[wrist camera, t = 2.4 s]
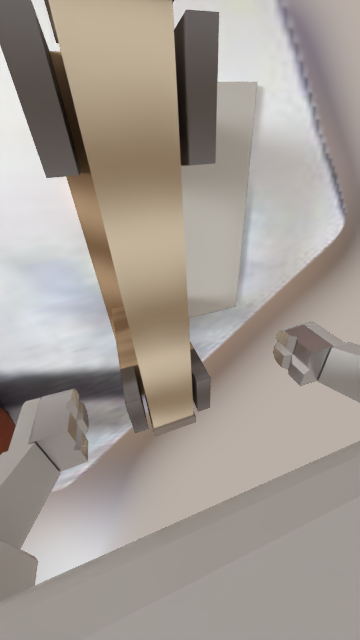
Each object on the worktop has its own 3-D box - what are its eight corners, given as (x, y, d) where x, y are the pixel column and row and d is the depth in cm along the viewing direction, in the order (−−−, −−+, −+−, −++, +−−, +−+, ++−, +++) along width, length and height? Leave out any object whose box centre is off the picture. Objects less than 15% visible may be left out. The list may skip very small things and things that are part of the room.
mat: (157, 84, 16) (159, 81, 16) (253, 84, 18) (257, 81, 18) (177, 317, 29) (179, 320, 28) (233, 304, 30) (235, 306, 30)
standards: (42, 95, 15) (-64, -64, 5) (145, 93, 17) (236, -28, 6) (115, 336, 27) (130, 440, 17) (170, 322, 29) (215, 410, 18)
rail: (47, 5, 7) (22, -85, 5) (148, 13, 8) (175, -62, 5) (146, 400, 20) (154, 436, 17) (182, 389, 21) (195, 421, 18)
